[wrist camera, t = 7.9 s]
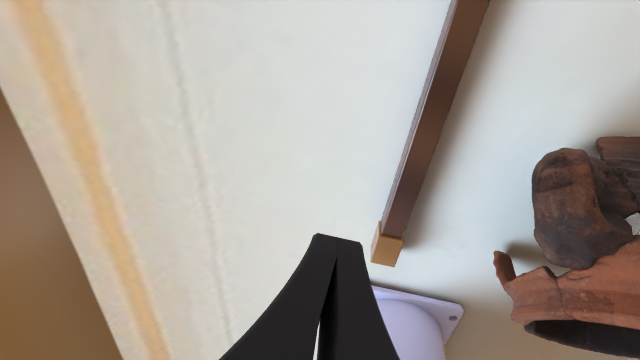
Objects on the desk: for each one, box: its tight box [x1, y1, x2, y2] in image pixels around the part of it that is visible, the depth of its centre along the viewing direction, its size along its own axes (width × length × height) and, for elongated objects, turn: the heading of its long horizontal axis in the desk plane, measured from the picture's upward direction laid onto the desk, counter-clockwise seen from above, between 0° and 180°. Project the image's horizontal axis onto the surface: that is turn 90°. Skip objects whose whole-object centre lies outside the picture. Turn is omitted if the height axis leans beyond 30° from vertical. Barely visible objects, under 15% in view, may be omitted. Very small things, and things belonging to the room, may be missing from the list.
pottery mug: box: [493, 137, 640, 359], centre depth 17 cm, size 12×10×8 cm
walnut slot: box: [371, 0, 490, 267], centre depth 17 cm, size 20×18×1 cm
